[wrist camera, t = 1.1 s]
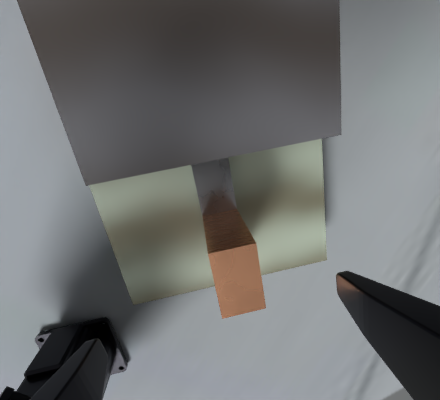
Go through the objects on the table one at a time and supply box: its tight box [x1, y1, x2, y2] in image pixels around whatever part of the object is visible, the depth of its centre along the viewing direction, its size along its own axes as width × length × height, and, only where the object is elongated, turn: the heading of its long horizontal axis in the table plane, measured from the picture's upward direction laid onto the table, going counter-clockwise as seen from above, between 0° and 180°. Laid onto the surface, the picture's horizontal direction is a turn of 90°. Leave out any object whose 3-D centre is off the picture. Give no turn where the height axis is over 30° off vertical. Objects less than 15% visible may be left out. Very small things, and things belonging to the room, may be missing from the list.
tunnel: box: [17, 0, 341, 305], centre depth 13 cm, size 25×16×10 cm, turn 10°
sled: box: [191, 158, 266, 319], centre depth 13 cm, size 16×6×6 cm, turn 10°
